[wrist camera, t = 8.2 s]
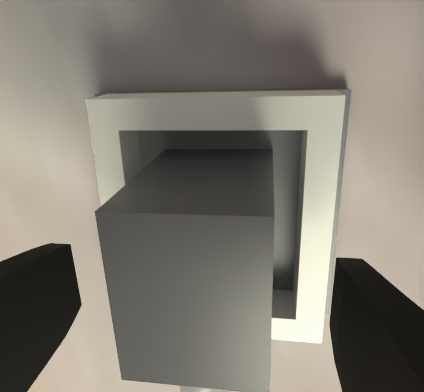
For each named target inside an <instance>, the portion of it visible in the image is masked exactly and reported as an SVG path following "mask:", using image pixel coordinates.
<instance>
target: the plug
mask: <svg viewBox="0 0 424 392" xmlns="http://www.w3.org/2000/svg"><path fill="white" fill-rule="evenodd" d="M95 215H96V221H97V228H98V234H99V240H100V246H101V253H102V259H103V265H104V271H105V278H106V284H107V290H108V296H109V303H110V309H111V315H112V321H113V328H114V334H115V340H116V346H117V353H118V359H119V365H120V371H121V378H122V380H130V381H140V382H150V383H160V384H170V385H180V389H181V392H226V390H230V391H240V392H270V361H271V326H272V290H273V255H274V220H275V214H274V175H273V149H165V150H164V151H163V152H162V153H160V154H159V155H158V156H157V157H156V158H155V159H154V160H153V161H151V162H150V163H149V164H148V165H147V166H146V167H145V168H144V169H142V170H141V171H140V172H139V173H138V174H137V175H136V176H135V177H134V178H132V179H131V180H130V181H129V182H128V183H127V184H126V185H125V186H123V187H122V188H121V189H120V190H119V191H118V192H117V193H116V194H114V195H113V196H112V197H111V198H110V199H109V200H108V201H107V202H105V203H104V204H103V205H102V206H101V207H100V208H99V209H98V210H96V211H95Z"/></svg>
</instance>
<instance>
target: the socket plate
mask: <svg viewBox="0 0 424 392" xmlns="http://www.w3.org/2000/svg"><path fill="white" fill-rule="evenodd" d="M350 96H351V90H350V89H292V90H235V91H178V92H121V93H98V94H95V97H93V98H89V99H85V103H86V109H87V116H88V123H89V130H90V137H91V143H92V150H93V157H94V164H95V170H96V177H97V184H98V191H99V197H100V204H101V206H102V205H103V204H104V203H105V202H107V201H108V200H109V199H110V198H111V197H112V196H113V195H114V194H116V193H117V192H118V191H119V190H120V189H121V188H122V187H123V186H125V185H126V184H127V183H128V182H129V181H130V180H131V179H132V178H134V177H135V176H136V175H137V174H138V173H139V172H140V171H141V170H142V169H144V168H145V167H146V166H147V165H148V164H149V163H150V162H151V161H153V160H154V159H155V158H156V157H157V156H158V155H159V154H160V153H162V152H163V151H164V150H165V149H273V175H274V214H275V220H274V255H273V290H272V326H271V339H274V340H286V341H298V342H311V343H322V335H323V325H324V314H325V313H329V303H330V293H331V283H332V273H333V264H334V254H335V244H336V234H337V224H338V214H339V204H340V194H341V184H342V175H343V165H344V155H345V145H346V135H347V125H348V115H349V105H350Z"/></svg>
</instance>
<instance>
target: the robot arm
mask: <svg viewBox="0 0 424 392" xmlns="http://www.w3.org/2000/svg"><path fill="white" fill-rule="evenodd" d="M81 305H82V304H81V299H80V294H79V288H78V283H77V278H76V272H75V267H74V261H73V256H72V251H71V245H70V244H54V243H50V244H46V245H43V246H40V247H37V248H34V249H31V250H28V251H26V252H23V253H21V254H18V255H16V256H13V257H11V258H8V259H6V260H3V261H1V262H0V392H27V391H28V389H29V388H30V387H31V385H32V384H33V382H34V381H35V380H36V378H37V377H38V375H39V374H40V373H41V371H42V370H43V368H44V367H45V366H46V364H47V363H48V361H49V360H50V358H51V357H52V356H53V354H54V353H55V351H56V350H57V348H58V347H59V345H60V344H61V342H62V341H63V339H64V338H65V336H66V335H67V333H68V331H69V329H70V327H71V325H72V324H73V322H74V320H75V318H76V316H77V313H78V311H79V309H80V307H81ZM330 332H331V339H332V347H333V354H334V360H335V365H336V369H337V373H338V376H339V380H340V384H341V388H342V392H424V310H423V309H421V308H420V307H419V306H418V305H416V304H415V303H414V302H413V301H411V300H410V299H409V298H408V297H407V296H405V295H404V294H403V293H402V292H401V291H399V290H398V289H397V288H396V287H395V286H394V285H392V284H391V283H390V282H389V281H388V280H387V279H385V278H384V277H383V276H382V275H381V274H380V273H378V272H377V271H376V270H375V269H374V268H373V267H371V266H370V265H369V264H368V263H367V262H365V261H364V260H363V259H355V258H336V266H335V276H334V285H333V295H332V305H331V314H330Z"/></svg>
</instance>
